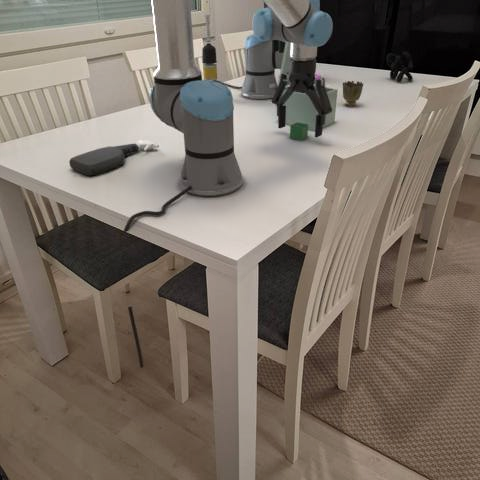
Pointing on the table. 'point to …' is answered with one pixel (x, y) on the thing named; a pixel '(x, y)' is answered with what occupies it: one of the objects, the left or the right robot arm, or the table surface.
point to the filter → (209, 57)
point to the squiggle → (399, 66)
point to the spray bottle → (106, 157)
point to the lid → (285, 62)
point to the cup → (352, 92)
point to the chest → (307, 108)
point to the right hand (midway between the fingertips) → (278, 51)
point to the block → (299, 131)
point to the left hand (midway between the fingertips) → (299, 131)
